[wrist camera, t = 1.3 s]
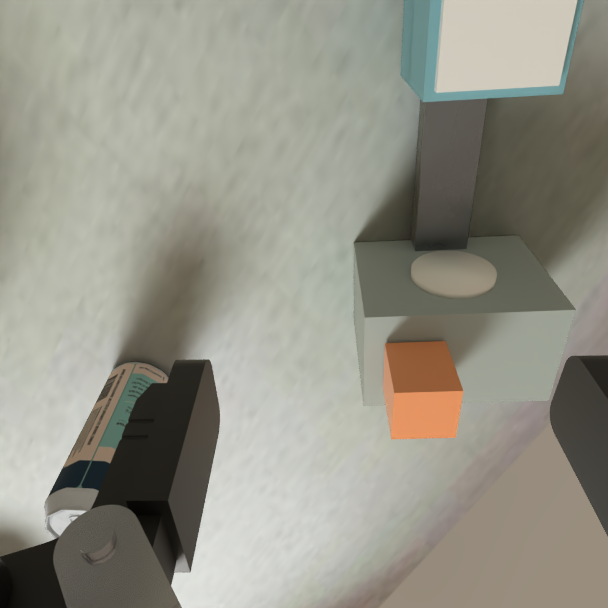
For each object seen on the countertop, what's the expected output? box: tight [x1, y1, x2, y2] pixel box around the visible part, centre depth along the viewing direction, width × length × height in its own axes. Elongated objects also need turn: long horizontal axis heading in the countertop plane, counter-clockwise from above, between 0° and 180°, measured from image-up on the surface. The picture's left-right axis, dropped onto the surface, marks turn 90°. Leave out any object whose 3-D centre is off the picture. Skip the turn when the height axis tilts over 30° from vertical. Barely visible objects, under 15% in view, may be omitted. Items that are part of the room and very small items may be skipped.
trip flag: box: [383, 341, 463, 439], centre depth 24 cm, size 3×3×4 cm
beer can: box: [44, 362, 168, 539], centre depth 32 cm, size 5×5×12 cm
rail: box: [411, 98, 488, 251], centre depth 25 cm, size 16×3×2 cm, turn 3°
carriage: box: [401, 0, 584, 102], centre depth 20 cm, size 6×5×6 cm
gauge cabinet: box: [354, 235, 576, 406], centre depth 28 cm, size 6×11×8 cm, turn 93°
